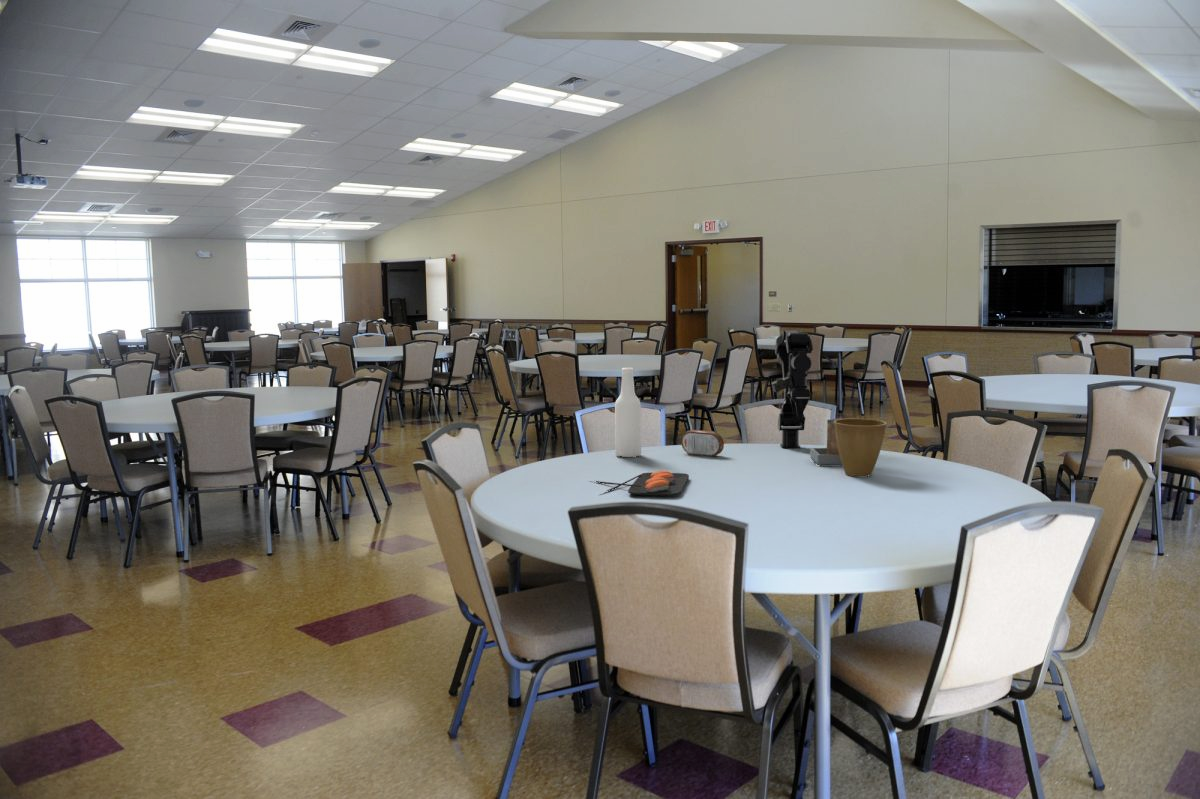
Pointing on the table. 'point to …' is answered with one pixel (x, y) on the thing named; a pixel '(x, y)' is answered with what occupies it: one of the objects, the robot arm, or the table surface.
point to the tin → (702, 443)
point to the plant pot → (859, 444)
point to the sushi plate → (656, 484)
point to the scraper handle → (831, 438)
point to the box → (824, 457)
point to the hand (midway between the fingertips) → (797, 416)
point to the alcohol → (627, 418)
